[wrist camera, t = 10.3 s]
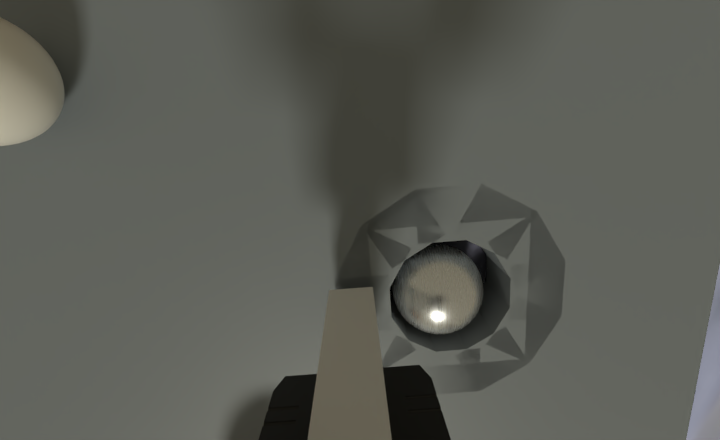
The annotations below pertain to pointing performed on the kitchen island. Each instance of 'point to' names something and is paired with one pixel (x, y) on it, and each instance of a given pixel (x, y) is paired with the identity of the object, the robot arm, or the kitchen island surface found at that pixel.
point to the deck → (361, 209)
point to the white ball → (26, 86)
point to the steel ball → (438, 289)
